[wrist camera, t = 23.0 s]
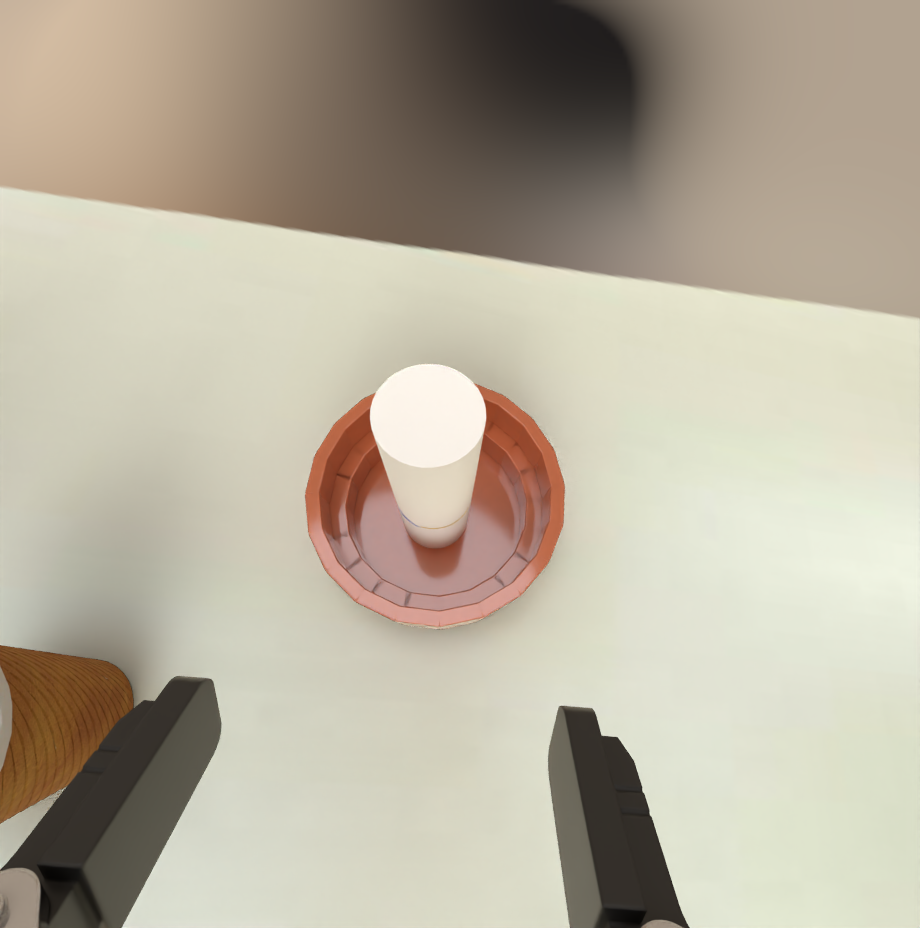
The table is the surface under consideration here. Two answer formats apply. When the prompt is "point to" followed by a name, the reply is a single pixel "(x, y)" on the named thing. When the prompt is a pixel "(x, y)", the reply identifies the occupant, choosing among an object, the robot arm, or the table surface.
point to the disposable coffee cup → (52, 720)
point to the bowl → (449, 568)
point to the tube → (430, 448)
